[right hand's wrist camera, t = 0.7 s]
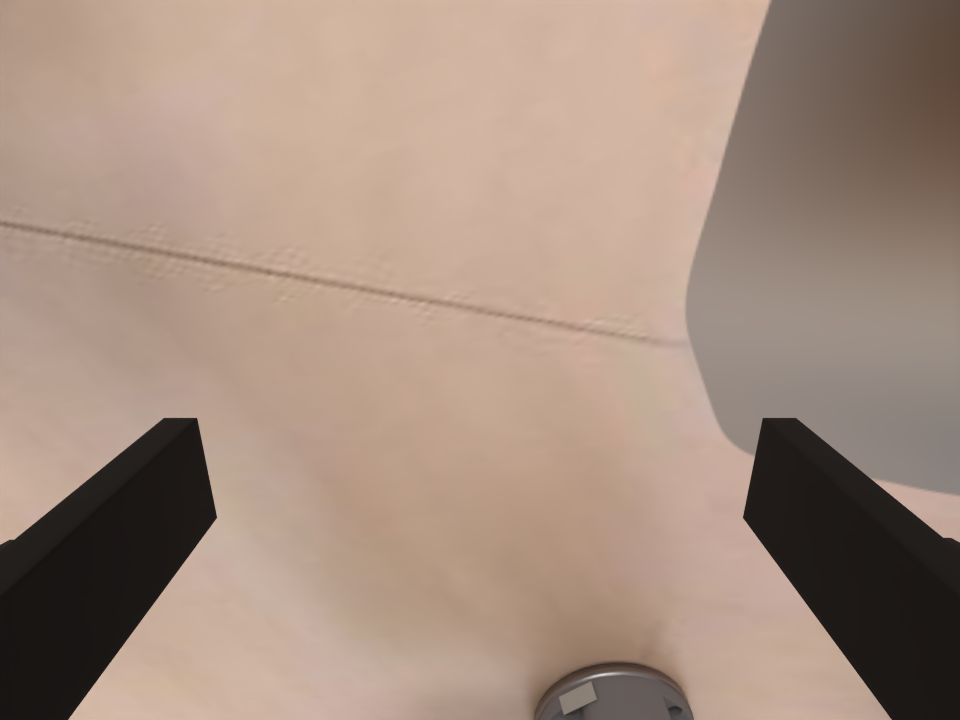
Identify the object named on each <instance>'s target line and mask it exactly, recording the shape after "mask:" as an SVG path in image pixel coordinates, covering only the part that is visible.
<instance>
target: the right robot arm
mask: <svg viewBox="0 0 960 720" xmlns="http://www.w3.org/2000/svg"><path fill="white" fill-rule="evenodd" d="M216 518H217V515H216V510H215V505H214V500H213V495H212V490H211V485H210V480H209V475H208V470H207V465H206V460H205V455H204V450H203V445H202V440H201V435H200V430H199V425H198V420H197V418H164V419H162V420H161V421H160V422H159V423H157V424H156V425H155V426H154V427H152V428H151V429H150V430H149V431H148V432H146V433H145V434H144V435H143V436H141V437H140V438H139V439H138V440H137V441H135V442H134V443H133V444H132V445H130V446H129V447H128V448H127V449H125V450H124V451H123V452H122V453H121V454H119V455H118V456H117V457H116V458H114V459H113V460H112V461H111V462H109V463H108V464H107V465H106V466H105V467H103V468H102V469H101V470H100V471H98V472H97V473H96V474H95V475H93V476H92V477H91V478H90V479H89V480H87V481H86V482H85V483H84V484H82V485H81V486H80V487H79V488H77V489H76V490H75V491H74V492H73V493H71V494H70V495H69V496H68V497H66V498H65V499H64V500H63V501H62V502H60V503H59V504H58V505H57V506H55V507H54V508H53V509H52V510H50V511H49V512H48V513H47V514H46V515H44V516H43V517H42V518H41V519H39V520H38V521H37V522H36V523H34V524H33V525H32V526H31V527H30V528H28V529H27V530H26V531H25V532H23V533H22V534H21V535H20V536H18V537H17V538H16V539H15V540H9V541H7V542H5V543H3V544H1V545H0V720H68V719H69V718H70V716H71V715H72V714H73V712H74V711H75V710H76V708H77V707H78V705H79V704H80V703H81V701H82V700H83V699H84V697H85V696H86V695H87V693H88V692H89V691H90V689H91V688H92V687H93V685H94V684H95V682H96V681H97V680H98V678H99V677H100V676H101V674H102V673H103V672H104V670H105V669H106V668H107V666H108V665H109V663H110V662H111V661H112V659H113V658H114V657H115V655H116V654H117V653H118V651H119V650H120V649H121V647H122V646H123V644H124V643H125V642H126V640H127V639H128V638H129V636H130V635H131V634H132V632H133V631H134V630H135V628H136V627H137V625H138V624H139V623H140V621H141V620H142V619H143V617H144V616H145V615H146V613H147V612H148V611H149V609H150V608H151V607H152V605H153V604H154V602H155V601H156V600H157V598H158V597H159V596H160V594H161V593H162V592H163V590H164V589H165V588H166V586H167V585H168V583H169V582H170V581H171V579H172V578H173V577H174V575H175V574H176V573H177V571H178V570H179V569H180V567H181V566H182V564H183V563H184V562H185V560H186V559H187V558H188V556H189V555H190V554H191V552H192V551H193V550H194V548H195V547H196V545H197V544H198V543H199V541H200V540H201V539H202V537H203V536H204V535H205V533H206V532H207V531H208V529H209V528H210V527H211V525H212V524H213V522H214V521H215V520H216ZM743 518H744V520H745V521H746V522H747V524H748V525H749V527H750V528H751V529H752V531H753V532H754V533H755V535H756V536H757V537H758V539H759V540H760V541H761V543H762V544H763V545H764V547H765V548H766V550H767V551H768V552H769V554H770V555H771V556H772V558H773V559H774V560H775V562H776V563H777V564H778V566H779V567H780V569H781V570H782V571H783V573H784V574H785V575H786V577H787V578H788V579H789V581H790V582H791V583H792V585H793V586H794V588H795V589H796V590H797V592H798V593H799V594H800V596H801V597H802V598H803V600H804V601H805V602H806V604H807V605H808V607H809V608H810V609H811V611H812V612H813V613H814V615H815V616H816V617H817V619H818V620H819V621H820V623H821V624H822V625H823V627H824V628H825V630H826V631H827V632H828V634H829V635H830V636H831V638H832V639H833V640H834V642H835V643H836V644H837V646H838V647H839V649H840V650H841V651H842V653H843V654H844V655H845V657H846V658H847V659H848V661H849V662H850V663H851V665H852V666H853V668H854V669H855V670H856V672H857V673H858V674H859V676H860V677H861V678H862V680H863V681H864V682H865V684H866V685H867V687H868V688H869V689H870V691H871V692H872V693H873V695H874V696H875V697H876V699H877V700H878V701H879V703H880V704H881V705H882V707H883V708H884V710H885V711H886V712H887V714H888V715H889V716H890V718H891V719H892V720H960V543H959V542H958V541H956V540H954V539H952V538H943V537H942V536H940V535H939V534H938V533H937V532H935V531H934V530H933V529H932V528H930V527H929V526H928V525H927V524H926V523H924V522H923V521H922V520H921V519H919V518H918V517H917V516H916V515H914V514H913V513H912V512H911V511H910V510H908V509H907V508H906V507H905V506H903V505H902V504H901V503H900V502H898V501H897V500H896V499H895V498H894V497H892V496H891V495H890V494H889V493H887V492H886V491H885V490H884V489H883V488H881V487H880V486H879V485H878V484H876V483H875V482H874V481H873V480H871V479H870V478H869V477H868V476H867V475H865V474H864V473H863V472H862V471H860V470H859V469H858V468H857V467H855V466H854V465H853V464H852V463H850V462H849V461H848V460H847V459H846V458H844V457H843V456H842V455H841V454H839V453H838V452H837V451H836V450H835V449H833V448H832V447H831V446H830V445H828V444H827V443H826V442H825V441H823V440H822V439H821V438H820V437H819V436H817V435H816V434H815V433H814V432H812V431H811V430H810V429H809V428H807V427H806V426H805V425H804V424H803V423H801V422H800V421H799V420H798V419H796V418H763V420H762V425H761V430H760V435H759V440H758V445H757V450H756V455H755V460H754V465H753V470H752V475H751V480H750V485H749V490H748V495H747V500H746V505H745V510H744V515H743ZM535 720H694V718H693V714H692V711H691V708H690V706H689V703H688V701H687V698H686V696H685V694H684V692H683V691H682V689H681V688H680V687H679V686H678V685H677V684H676V683H675V682H674V681H673V680H672V679H670V678H669V677H668V676H666V675H664V674H663V673H661V672H659V671H656V670H654V669H651V668H648V667H645V666H640V665H635V664H626V663H611V664H602V665H596V666H592V667H588V668H585V669H582V670H579V671H577V672H574V673H572V674H570V675H568V676H566V677H565V678H563V679H561V680H560V681H559V682H557V683H556V684H555V685H554V686H552V687H551V688H550V689H549V690H548V691H547V692H546V694H545V695H544V696H543V698H542V699H541V701H540V703H539V705H538V707H537V710H536V713H535Z"/></svg>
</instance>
